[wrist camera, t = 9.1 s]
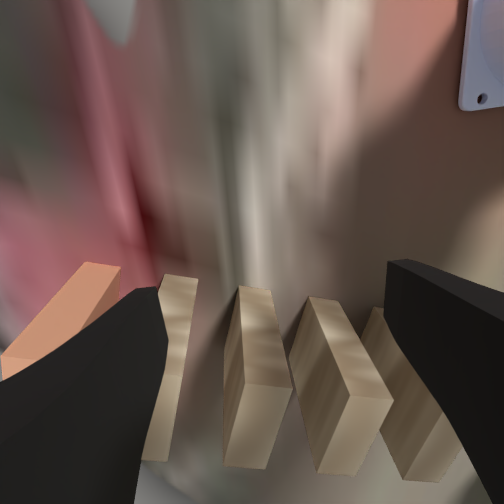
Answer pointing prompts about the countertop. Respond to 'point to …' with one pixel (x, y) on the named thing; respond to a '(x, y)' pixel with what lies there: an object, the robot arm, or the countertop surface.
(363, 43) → the countertop surface
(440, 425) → the domino
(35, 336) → the domino
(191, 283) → the domino
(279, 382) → the domino
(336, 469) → the domino
